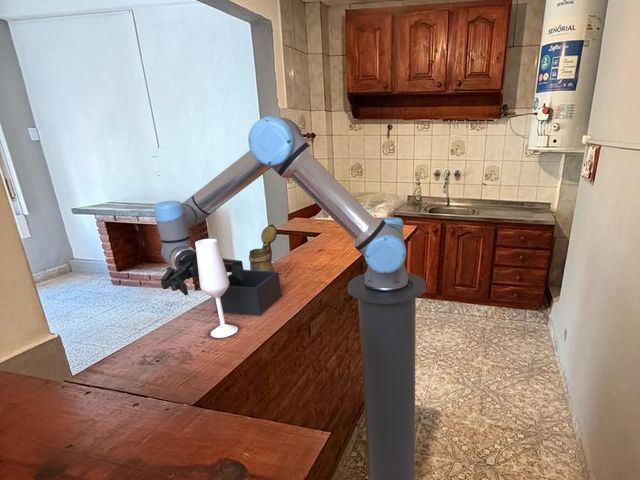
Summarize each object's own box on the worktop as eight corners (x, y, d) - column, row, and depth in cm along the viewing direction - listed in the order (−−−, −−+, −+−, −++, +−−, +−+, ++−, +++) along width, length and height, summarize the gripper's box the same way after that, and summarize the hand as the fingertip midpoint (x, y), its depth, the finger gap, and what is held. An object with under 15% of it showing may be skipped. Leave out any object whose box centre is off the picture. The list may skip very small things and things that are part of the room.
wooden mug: (290, 274, 140) (283, 224, 134) (266, 288, 129) (258, 234, 122) (269, 272, 144) (262, 223, 137) (244, 285, 132) (235, 232, 125)
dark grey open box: (281, 295, 123) (278, 271, 120) (260, 315, 111) (256, 288, 108) (241, 293, 126) (237, 269, 123) (216, 311, 113) (211, 286, 110)
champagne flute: (221, 340, 98) (202, 246, 89) (204, 333, 102) (184, 243, 93) (243, 328, 103) (227, 239, 94) (227, 322, 107) (209, 236, 98)
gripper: (234, 264, 121) (265, 283, 105) (142, 286, 106) (162, 311, 91) (230, 240, 118) (261, 256, 103) (135, 259, 103) (154, 281, 88)
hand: (215, 282), depth 97 cm, fingers open, 13 cm apart
